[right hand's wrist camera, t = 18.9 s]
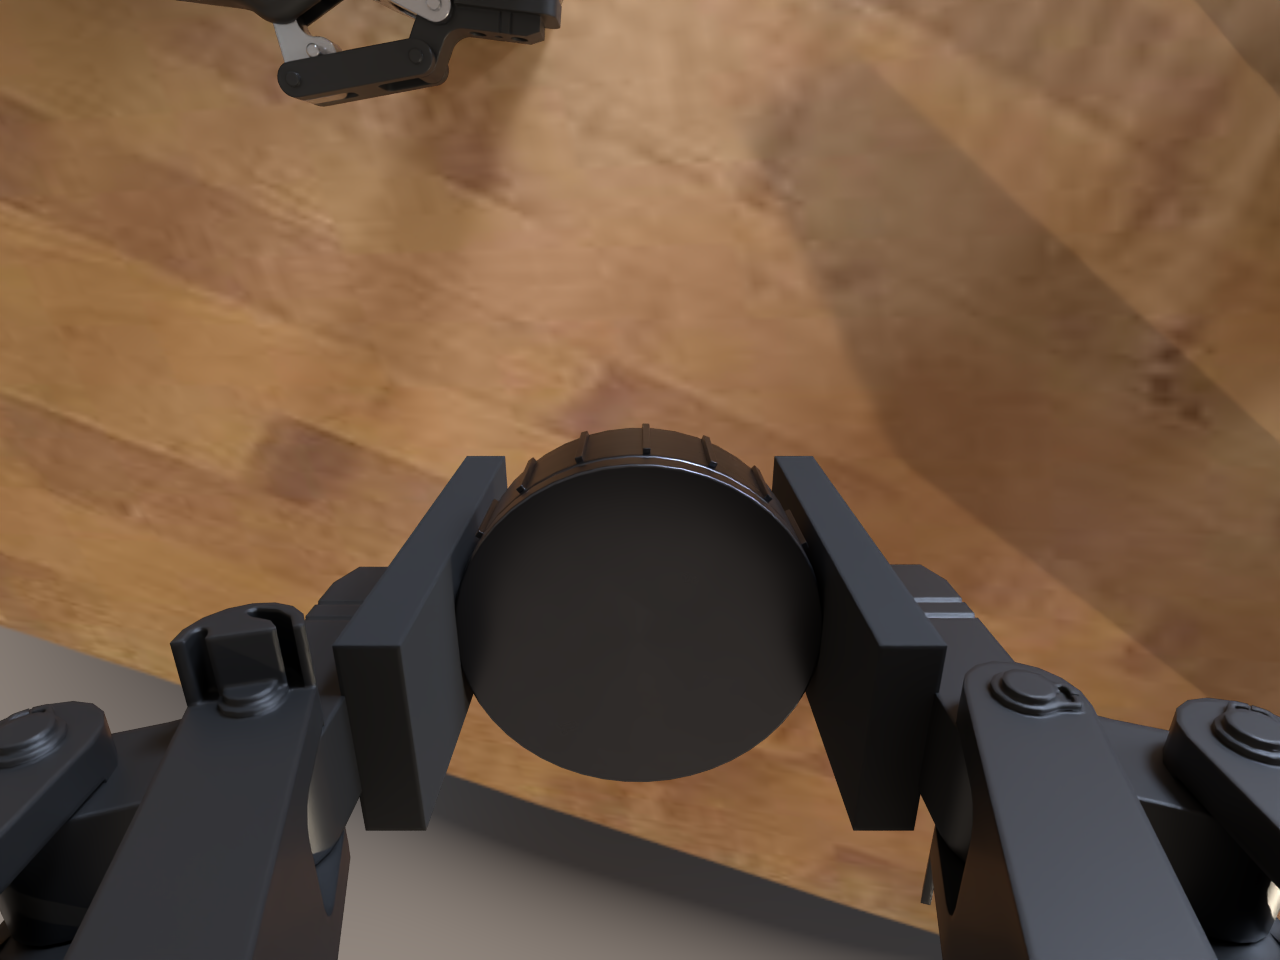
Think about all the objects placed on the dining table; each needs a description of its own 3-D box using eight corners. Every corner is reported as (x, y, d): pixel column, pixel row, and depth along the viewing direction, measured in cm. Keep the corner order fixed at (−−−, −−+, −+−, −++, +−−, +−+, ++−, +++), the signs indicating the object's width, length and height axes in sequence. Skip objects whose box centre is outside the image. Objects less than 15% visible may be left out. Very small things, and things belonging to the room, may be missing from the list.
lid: (499, 390, 11) (473, 423, 9) (845, 463, 11) (882, 506, 10) (455, 682, 13) (428, 753, 11) (753, 734, 13) (770, 810, 11)
